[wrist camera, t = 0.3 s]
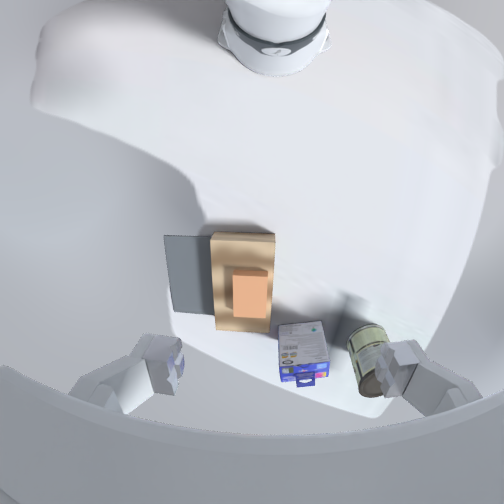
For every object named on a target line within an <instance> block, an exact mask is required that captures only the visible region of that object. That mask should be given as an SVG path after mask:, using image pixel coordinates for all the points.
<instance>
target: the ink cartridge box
mask: <svg viewBox="0 0 504 504" xmlns="http://www.w3.org/2000/svg"><path fill="white" fill-rule="evenodd" d="M278 352H279V372H280V379H281V382H288V381H296V384H297V387H305V386H315V378H321V377H328V375H329V366H330V359H329V354H328V349H327V344H326V340H325V335H324V331H323V326H322V321H316V322H307V323H298V324H289V325H279V326H278ZM306 379H312V381H310V382H308V383H301V382H299V380H306Z"/></svg>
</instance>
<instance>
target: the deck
mask: <svg viewBox="0 0 504 504" xmlns="http://www.w3.org/2000/svg"><path fill="white" fill-rule="evenodd" d="M210 246H211V266H212V282H213V298H214V311H215V324H216V330H223V331H238V332H257V333H269V332H270V318H271V304H272V290H273V274H274V258H275V234H267V233H240V232H214V234H213V236H212V238H211V240H210ZM234 270H252V271H268V285H267V303H266V318H248V317H234V315H233V272H234Z"/></svg>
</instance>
